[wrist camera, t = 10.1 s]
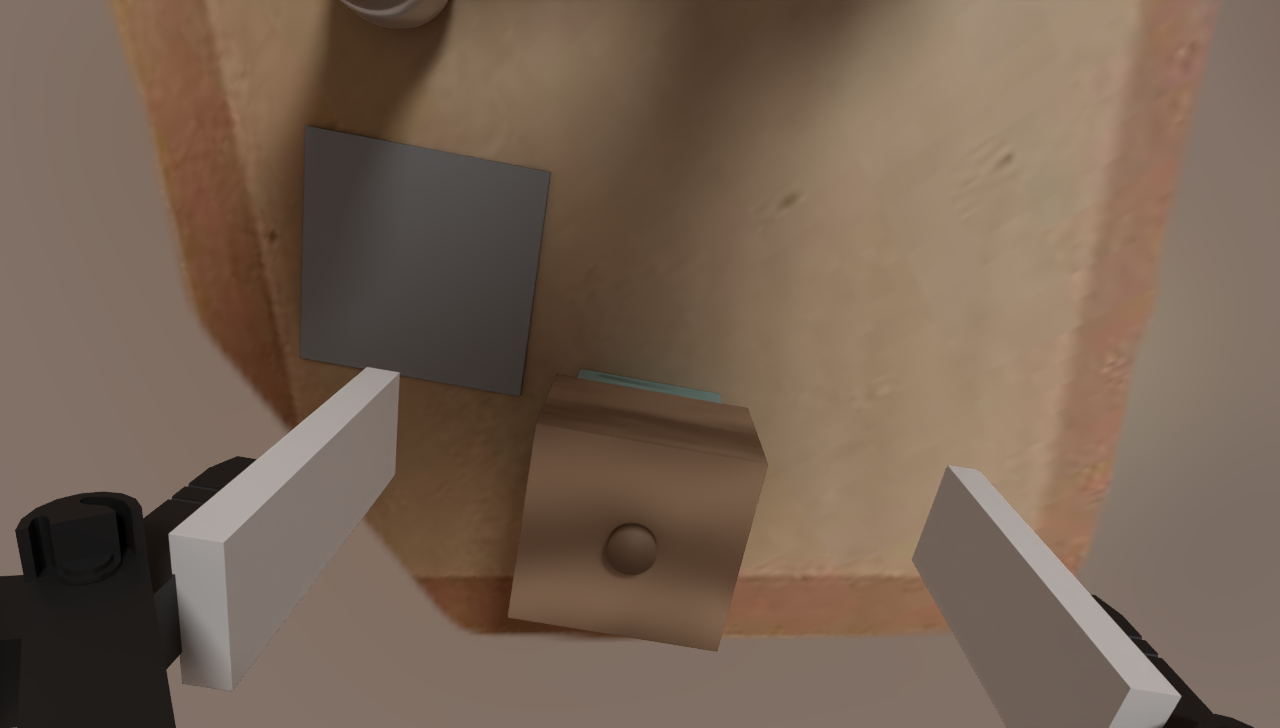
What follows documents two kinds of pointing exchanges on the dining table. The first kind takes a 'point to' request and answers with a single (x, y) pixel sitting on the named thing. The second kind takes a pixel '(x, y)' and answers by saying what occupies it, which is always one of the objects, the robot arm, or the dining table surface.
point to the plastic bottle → (396, 11)
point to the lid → (636, 513)
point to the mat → (418, 260)
